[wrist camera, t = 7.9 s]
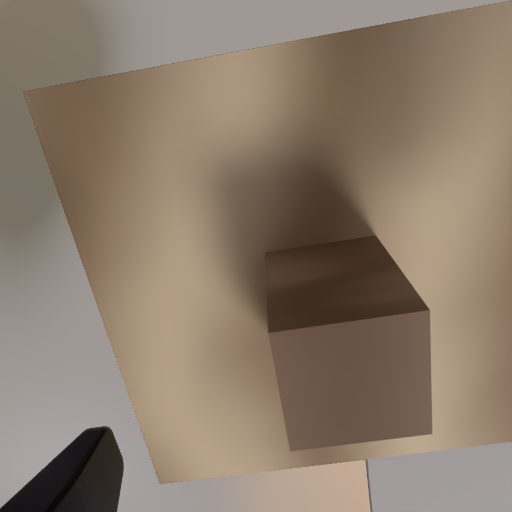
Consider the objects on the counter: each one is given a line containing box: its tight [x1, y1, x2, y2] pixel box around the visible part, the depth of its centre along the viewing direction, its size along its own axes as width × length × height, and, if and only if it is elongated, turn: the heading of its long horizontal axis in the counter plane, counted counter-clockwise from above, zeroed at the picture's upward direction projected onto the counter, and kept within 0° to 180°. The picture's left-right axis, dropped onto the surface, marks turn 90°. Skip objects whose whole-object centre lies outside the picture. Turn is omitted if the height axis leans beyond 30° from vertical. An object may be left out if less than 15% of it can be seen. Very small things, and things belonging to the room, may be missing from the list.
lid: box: [23, 0, 512, 484], centre depth 11 cm, size 13×13×5 cm
